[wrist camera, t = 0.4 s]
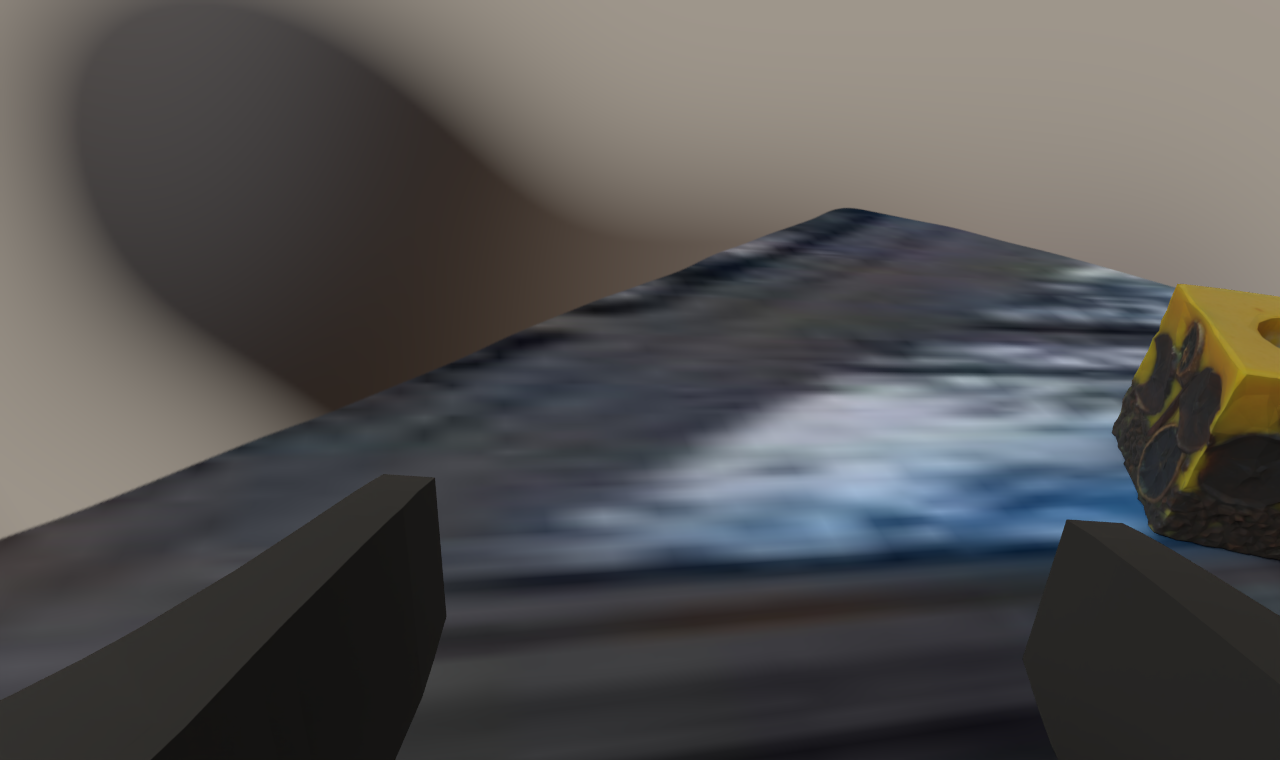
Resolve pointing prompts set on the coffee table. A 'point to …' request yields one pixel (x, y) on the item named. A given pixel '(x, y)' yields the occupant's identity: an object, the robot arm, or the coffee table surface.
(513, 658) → the coffee table surface
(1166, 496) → the candle
